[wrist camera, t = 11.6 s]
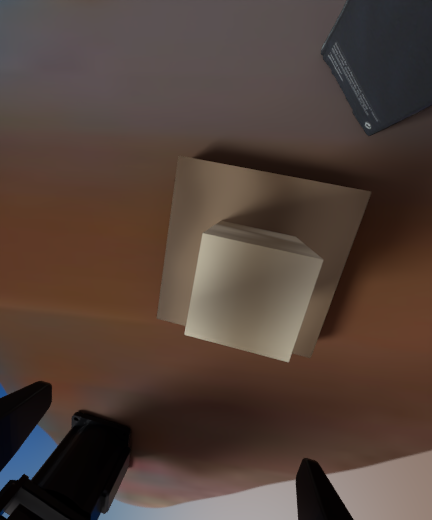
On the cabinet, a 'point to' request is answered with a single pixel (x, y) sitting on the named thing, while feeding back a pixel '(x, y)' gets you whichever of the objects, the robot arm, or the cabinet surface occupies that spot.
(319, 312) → the beige flat square slab
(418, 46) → the small box
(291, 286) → the maple cube
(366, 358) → the cabinet surface
